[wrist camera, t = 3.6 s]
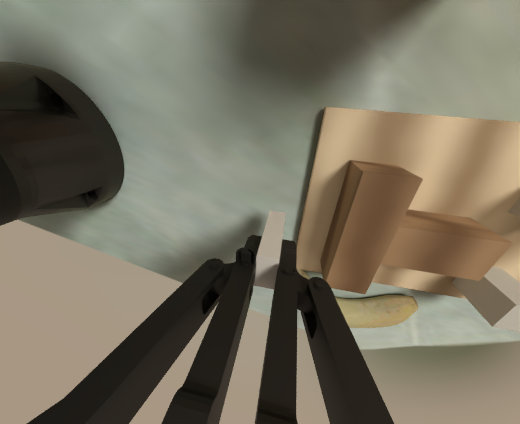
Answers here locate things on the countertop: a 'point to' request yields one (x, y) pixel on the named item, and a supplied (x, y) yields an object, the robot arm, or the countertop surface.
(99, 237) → the countertop surface
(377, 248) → the tee
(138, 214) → the countertop surface
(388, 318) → the fruit
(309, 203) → the board
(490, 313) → the posts
